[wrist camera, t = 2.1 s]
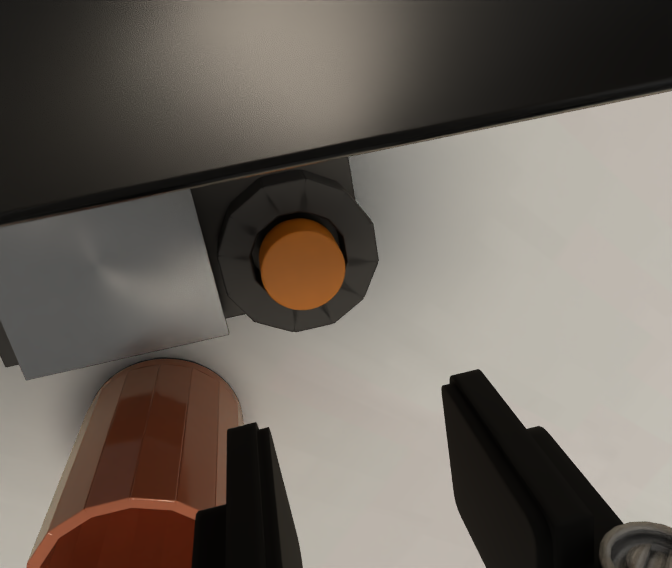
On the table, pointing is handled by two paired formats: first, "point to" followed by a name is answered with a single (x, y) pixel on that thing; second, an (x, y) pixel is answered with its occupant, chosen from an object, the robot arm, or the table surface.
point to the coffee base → (253, 225)
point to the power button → (301, 264)
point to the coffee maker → (246, 130)
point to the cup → (141, 470)
